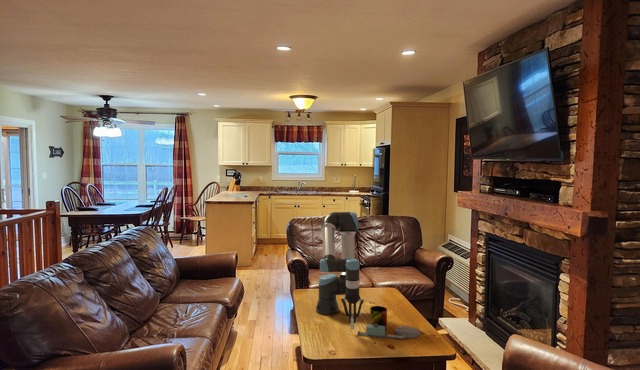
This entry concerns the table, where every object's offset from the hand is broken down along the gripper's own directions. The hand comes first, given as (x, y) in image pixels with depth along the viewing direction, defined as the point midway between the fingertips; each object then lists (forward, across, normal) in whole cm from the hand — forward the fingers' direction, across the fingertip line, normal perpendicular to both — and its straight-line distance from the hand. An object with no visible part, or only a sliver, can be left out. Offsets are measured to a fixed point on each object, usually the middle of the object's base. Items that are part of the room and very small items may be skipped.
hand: (352, 328), depth 212 cm
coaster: (+3, +30, +8) cm, 31 cm away
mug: (+3, +13, +11) cm, 18 cm away
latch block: (+2, +13, 0) cm, 13 cm away
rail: (+3, +16, 0) cm, 16 cm away
